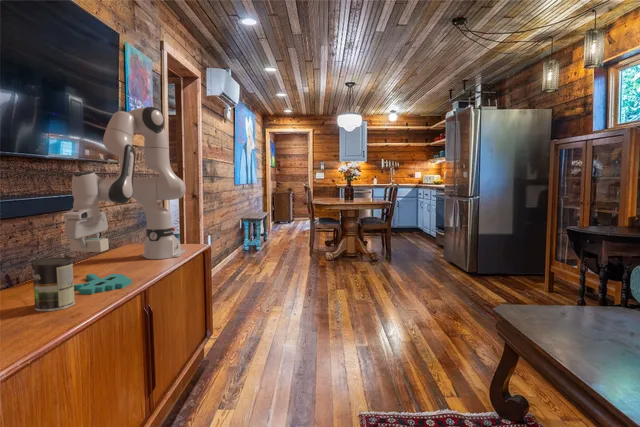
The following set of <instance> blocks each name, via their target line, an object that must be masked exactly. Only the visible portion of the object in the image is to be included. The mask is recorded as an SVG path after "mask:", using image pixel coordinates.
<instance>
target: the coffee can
mask: <svg viewBox="0 0 640 427" xmlns="http://www.w3.org/2000/svg"><path fill="white" fill-rule="evenodd" d="M73 262H74V259H73V258H72V257H62V256H61V257H60V256H59V257H51V258H43V259H38V260H34V261H32V262H31V263H30V264H31V268H32V269H31V270H32V281H33V282H32V284H33V285H32V286H33V298H34V310H35V311H36V312H57V311H61V310H64V309H68V308H70V307H73V306H74V305H75V304H76V300H75V290H74V285H75V284H74V269H73V268H74V264H73Z"/></svg>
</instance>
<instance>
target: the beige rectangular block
mask: <svg viewBox="0 0 640 427" xmlns="http://www.w3.org/2000/svg"><path fill="white" fill-rule="evenodd" d="M68 240H69V251H70V252H89V253H90V252H92V253H94V252H95V253H102V252H104V251H107V250H109V249H110V248H109V238H106V237H105V238H103V237H102V238H93V237H85V239H84V241H85V243H87V247H86V248H81V247H80V243H79V241H78V240H77V239H68Z"/></svg>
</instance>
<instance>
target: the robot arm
mask: <svg viewBox="0 0 640 427" xmlns="http://www.w3.org/2000/svg"><path fill="white" fill-rule="evenodd" d="M164 126H165V118H164V114H163V113H162V110H160V109H159V108H157V107H156V106H146V107H138V108H135V109H132V110H128V111H123V110H120V111H119V110H118V111H116V112H114V113H113V115H112V116H111V118H110V120H109V121H108V124H107V126H106V129H105V132H104V135H103V140H102V143H103V145H104V148H106V150H107V151H108V152H110V153H111V154H113V156H114V155H115V156H116V157H118V158H119V160H120V161H119V169H118V170H119V171H118V176H117V177H115V178H103V177H101V176H99V175H98V174H96V173H95V171H93V170H92V171H91V170H83V171H82V170H81V171H77V172H76V173H74V174H73V175H72V180H71V192H72V193H71V194H72V197H73V204H72V207H73V208H71V209H70V210H68V211H67V212H65V213H64V214H63V218H64V220H65V222H64V230H65V233H64V234H65V237H66V238H67V239H68V240H72V239H77V240H78V241H79V243H80V247H81V248H86V247H87V243H85V241H84V239H85V238H86V237H89V236H91V235H92V236H93V237H92V238H99V237H100V233H102V232H106V231H108V229H109V226H108V225H109V224H108V218H107V215H106V214H105V211H104V210H103V209H100V202H104V203H116V204H122V205H123V204H126V203H128V202H129V201H130V200H131V199H134V200H135V201H136V202H138V203H139V204H140V206H141V207H142V209H143V210H144V213H145V220H146V230H145V234H146V238H145V239H144V245H143V248H144V249H143V253H142V254H141V257H143V258H144V259H146V260H147V259H148V260H161V259H162V260H163V259H170V258H179V257H180V256H182V255H183V254H185V253H186V249H183V248H182V247H181V241H180V240H179V239H178V238H177V237H176V236H175V235H174V232H175V231H176V227H172V215H171V214H172V213H171V212H170V210H169V209H167V208H165V207H163V206H160V205H159V204H158V202H157V201H173V200H179V199H183V197H184V196H185V194H186V190H187V187H186V184H185V182H184V181H183V180H182V178H180V177H179V176H177V175H176V174H175V173H174V171H173V169H172V167H171V162H170V147H169V139H168V134H167V132H166V129H164V128H165V127H164ZM135 134H142V135H143V139H144V141H143V152H144V153H143V157H144V165H145V166H146V168H147V169H149V170H152V171H153V172H156V173H157V174H158V177H138V178H134V175H135V169H136V168H135V166H136V149H135V148H134V146H133V141H134V137H135Z"/></svg>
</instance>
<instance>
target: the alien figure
mask: <svg viewBox="0 0 640 427" xmlns="http://www.w3.org/2000/svg"><path fill="white" fill-rule="evenodd" d="M85 280H86V281H87V282H85V283H77V284H74V291H78V295H93V294H96V293H104V292H106V291H114V290H116V289H118V290H119V289H121V290H122V289H124V288H126V287H127V286H129V285H131V284H132V283H133V282H132V281H133V280H132V278H130V277H129V276H127V275H124V274H123V273H111V274H108V275H107V276H105V277H102V278H100V276H98V275H96V274H95V273H88V274H86V275H85Z"/></svg>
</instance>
